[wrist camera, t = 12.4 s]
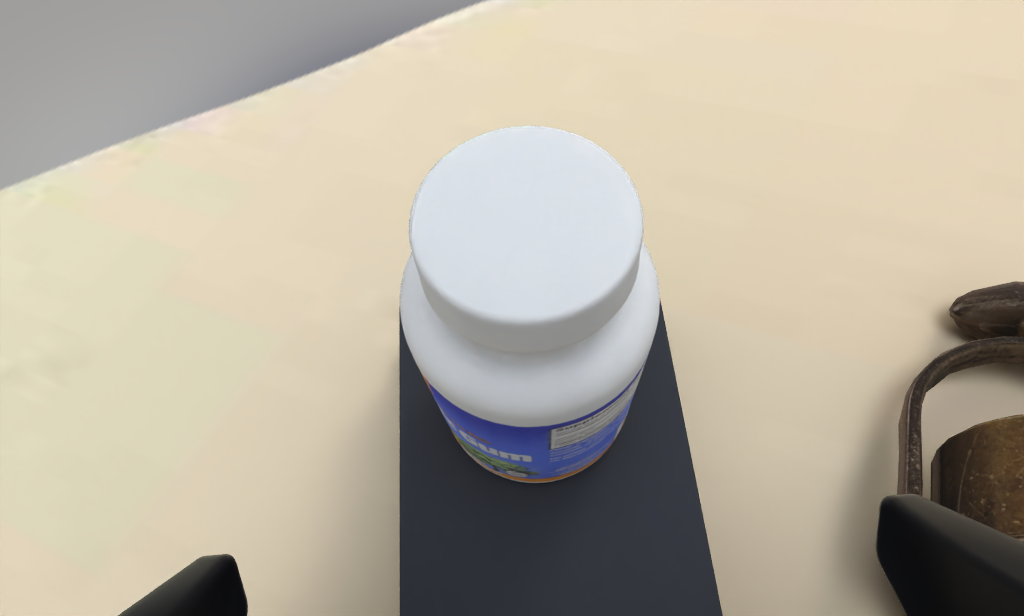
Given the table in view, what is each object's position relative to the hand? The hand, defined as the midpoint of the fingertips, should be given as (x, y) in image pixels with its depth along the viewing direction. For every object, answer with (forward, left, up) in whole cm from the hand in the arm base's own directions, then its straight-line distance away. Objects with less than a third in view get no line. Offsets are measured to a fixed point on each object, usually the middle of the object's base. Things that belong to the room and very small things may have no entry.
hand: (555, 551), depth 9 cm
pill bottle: (+5, +2, -9) cm, 11 cm away
